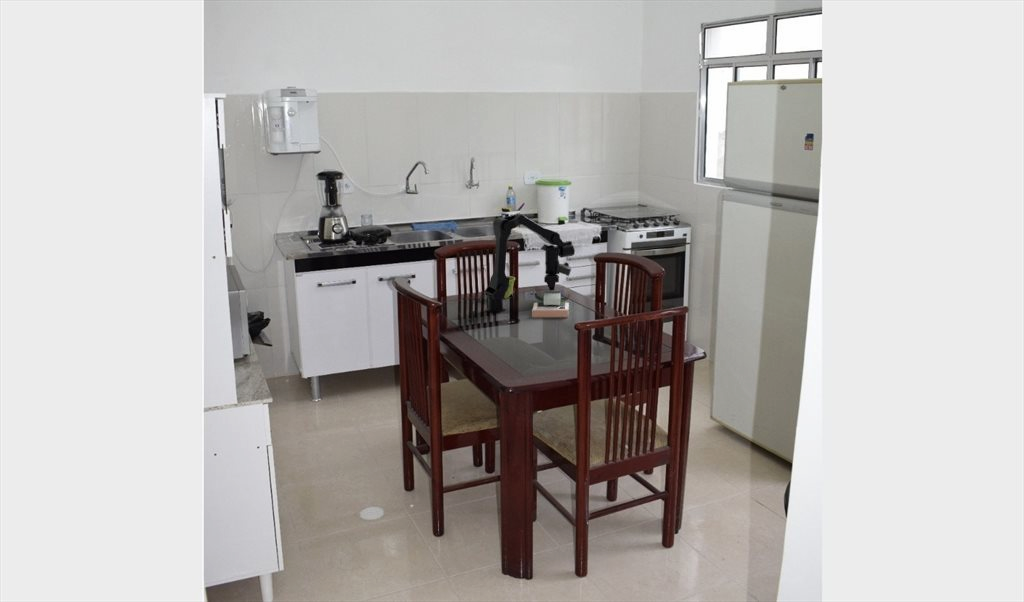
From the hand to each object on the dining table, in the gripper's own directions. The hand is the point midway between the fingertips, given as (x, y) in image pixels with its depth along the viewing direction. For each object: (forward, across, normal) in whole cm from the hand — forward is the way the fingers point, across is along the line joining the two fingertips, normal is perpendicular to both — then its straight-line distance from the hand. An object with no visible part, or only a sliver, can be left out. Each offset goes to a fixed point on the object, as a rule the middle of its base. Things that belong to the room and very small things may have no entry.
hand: (552, 293), depth 351 cm
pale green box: (+3, -6, 0) cm, 7 cm away
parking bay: (+3, -18, 0) cm, 18 cm away
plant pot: (+4, +7, +22) cm, 23 cm away
